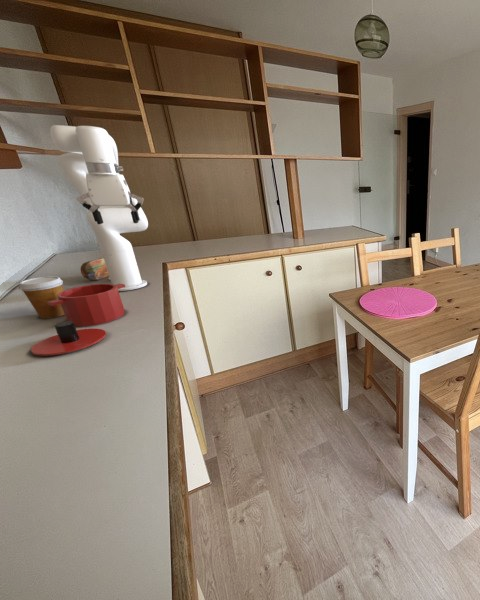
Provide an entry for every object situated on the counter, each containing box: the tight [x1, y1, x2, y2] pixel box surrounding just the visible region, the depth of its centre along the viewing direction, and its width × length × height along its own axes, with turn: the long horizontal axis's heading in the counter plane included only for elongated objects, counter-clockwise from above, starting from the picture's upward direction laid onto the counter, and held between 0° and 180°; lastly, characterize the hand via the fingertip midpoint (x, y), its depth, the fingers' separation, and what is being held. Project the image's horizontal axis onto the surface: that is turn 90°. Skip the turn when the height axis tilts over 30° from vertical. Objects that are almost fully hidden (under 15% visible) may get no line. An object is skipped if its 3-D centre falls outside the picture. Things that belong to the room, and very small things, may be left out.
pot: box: [47, 283, 126, 328], centre depth 100 cm, size 14×19×10 cm
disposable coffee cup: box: [18, 275, 65, 319], centre depth 101 cm, size 10×10×12 cm
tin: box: [80, 257, 110, 281], centre depth 140 cm, size 15×3×8 cm, turn 179°
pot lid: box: [30, 320, 107, 357], centre depth 85 cm, size 15×15×6 cm
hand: (118, 223), depth 107 cm, fingers open, 9 cm apart
